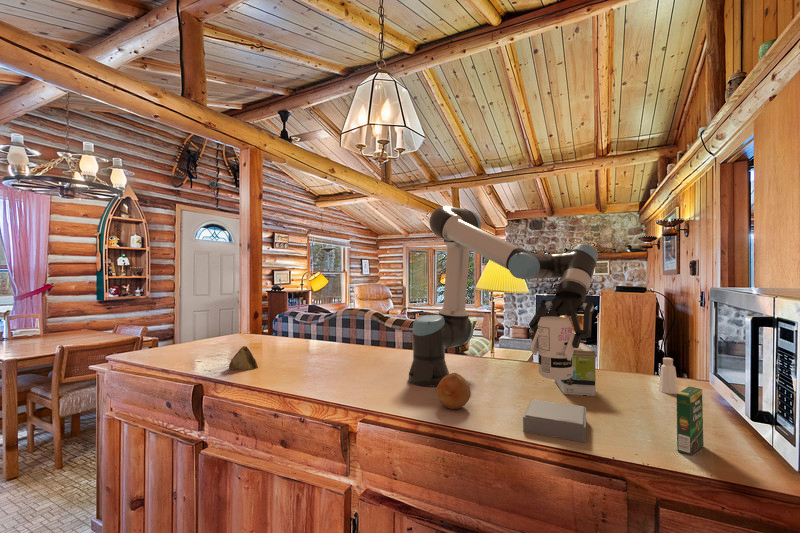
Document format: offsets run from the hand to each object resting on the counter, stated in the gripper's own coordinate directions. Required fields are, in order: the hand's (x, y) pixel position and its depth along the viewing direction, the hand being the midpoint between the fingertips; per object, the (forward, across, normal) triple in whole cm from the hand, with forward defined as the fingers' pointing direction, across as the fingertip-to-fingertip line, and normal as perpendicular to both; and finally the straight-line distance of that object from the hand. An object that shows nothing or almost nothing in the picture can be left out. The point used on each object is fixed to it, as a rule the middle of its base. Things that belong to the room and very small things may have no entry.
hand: (549, 354), depth 94 cm
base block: (+11, 0, -16) cm, 19 cm away
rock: (+34, +118, +8) cm, 123 cm away
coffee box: (+5, -26, -22) cm, 35 cm away
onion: (+17, +27, -10) cm, 33 cm away
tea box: (-13, +8, -41) cm, 44 cm away
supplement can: (+2, 0, -7) cm, 7 cm away
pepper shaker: (-26, -15, -54) cm, 62 cm away
